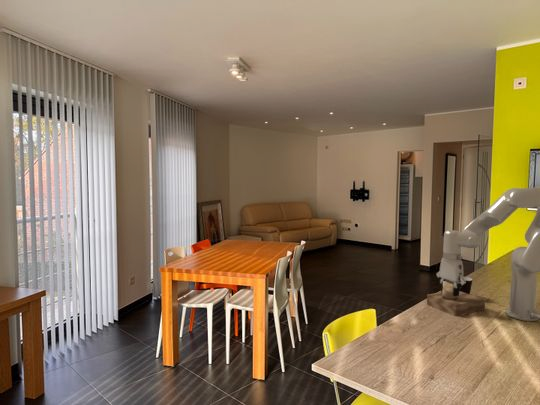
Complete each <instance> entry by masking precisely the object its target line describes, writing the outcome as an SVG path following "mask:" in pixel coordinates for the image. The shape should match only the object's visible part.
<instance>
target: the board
mask: <svg viewBox="0 0 540 405" xmlns="http://www.w3.org/2000/svg"><path fill="white" fill-rule="evenodd" d="M442 294H443V292H441V291H440V292H435V293H429V294H426V305H427V306H429V307H432V308H434V309H437V310H440V311H442V312H444V313H447V314H450V315H452V316H455V317H457V316H461V315H466V314H470V313H476V312H480V311H481V312H482V311H485V310H486V299H484V298H482V297H480V296H479V297H478V296H476V295H472V294H471V293H470V294H467V293H464V292H461V291H459V296H457V299H454V300H448V299H445V298H444V297H443V296H442Z"/></svg>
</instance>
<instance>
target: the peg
mask: <svg viewBox="0 0 540 405" xmlns="http://www.w3.org/2000/svg"><path fill="white" fill-rule="evenodd" d="M456 283H457V282H456ZM453 288H455V286H454V283H453V281H449V280H447V281H443V294H442V296H443V297H444V298H445V299H448V300H454V299H457V296H453Z"/></svg>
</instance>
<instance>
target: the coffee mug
mask: <svg viewBox="0 0 540 405" xmlns="http://www.w3.org/2000/svg"><path fill="white" fill-rule="evenodd" d="M463 278H464V280H465V281H466V283H465V284H464V285H463V286H461V288H460V289H459V291H461V292H464V293H467V294H470V295H471V292H472V286H473V278H471V277H467V276H463ZM460 282H461V281H460Z"/></svg>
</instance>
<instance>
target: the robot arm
mask: <svg viewBox="0 0 540 405" xmlns="http://www.w3.org/2000/svg"><path fill="white" fill-rule="evenodd" d="M529 208H530V209H533V208H536V213H535V216H534V218H533V219H532V221H531V222H530V225H529V226H528V228H527V230H526V231H525V234H524V240H525V242H526V243H528V244H527V246H518V247H515V248H514V250H513V251H512V253H511V255H510V268H511V271H510V272H511V273H510V274H511V275H510V278H511V279H510V289H509V290H510V292H509V294H510V295H509V308H508V309H505V311H504V314H505V315H506V316H507V317H510V318H512V319H516V320H519V321H523V322H524V321H525V322H536V321H538V320H540V313H539V312H538V308H536V300H537V299H536V298H537V283H538V273H540V185H537V186H535V187H525V188H518V187H512V188H508V189H507V190H505V192H503V193H502V194H501V195H500V197H498V198H497V199H496V200H495V202H494V203H492V204H491V205H490V206H489V207H488V208H486V210H485V211H483V212H482V213H481V214H480V215H478V216H477V217H476V218H474V219H473V220H472V221H471V222H470V223H468V225H466V226H465V228H463V230H462V231H460V230H455V229H454V230H453V229H452V230H451V229H447V230H445V231H444V233H443V245H442V246H443V248H442V250H443V252H442V258H441V260H440V265H439V271H438V272H436V277H437V278H438V280H439V283H440V292H443V281H453V283H454V286H455V288H453V296H459V289H460V288H461V286H463V285H464V284H465V283H466V281H465V280H464V278H463V277H464V264H463V261H462V259H463V256H462V248H468V249H476V248H479V247H480V246H481V245H482V240H483V239H482V237H481V236H482V235H484V233H485V232H487V231H488V230H489V229H490V230H491V228H494V227H497V226H499V225H502V224H503V223H504V222H505V221H506V220H507V219H508V218H510V217H511V215H512V214H514V212H516V211H517V210H518V209H529ZM460 281H461V282H460ZM456 282H457V283H456Z"/></svg>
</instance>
